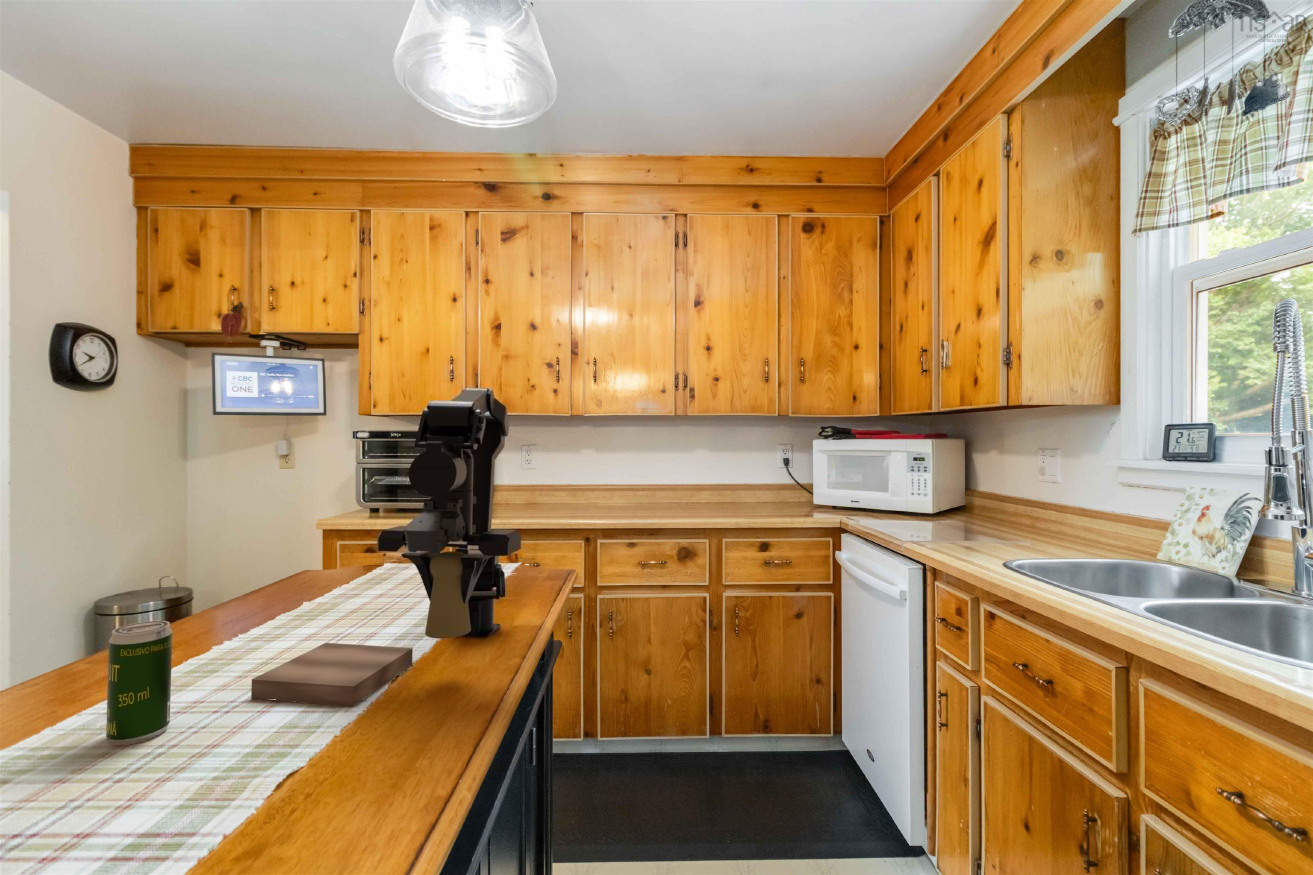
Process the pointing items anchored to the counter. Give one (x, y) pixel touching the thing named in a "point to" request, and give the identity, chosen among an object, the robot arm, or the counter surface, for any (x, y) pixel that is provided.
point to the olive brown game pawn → (447, 598)
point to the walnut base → (333, 674)
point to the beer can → (139, 682)
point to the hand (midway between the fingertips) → (448, 602)
